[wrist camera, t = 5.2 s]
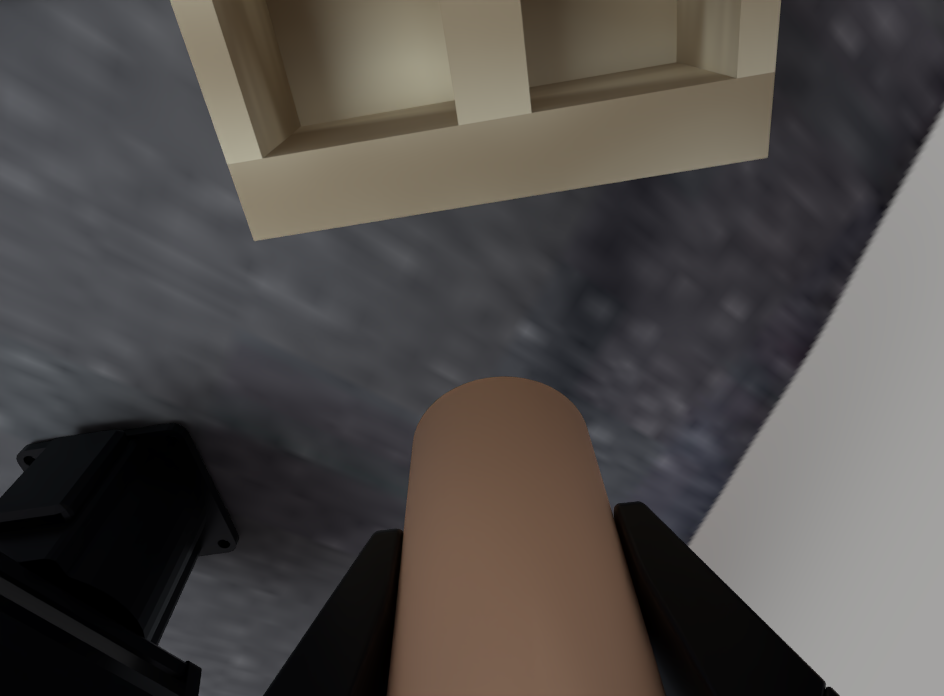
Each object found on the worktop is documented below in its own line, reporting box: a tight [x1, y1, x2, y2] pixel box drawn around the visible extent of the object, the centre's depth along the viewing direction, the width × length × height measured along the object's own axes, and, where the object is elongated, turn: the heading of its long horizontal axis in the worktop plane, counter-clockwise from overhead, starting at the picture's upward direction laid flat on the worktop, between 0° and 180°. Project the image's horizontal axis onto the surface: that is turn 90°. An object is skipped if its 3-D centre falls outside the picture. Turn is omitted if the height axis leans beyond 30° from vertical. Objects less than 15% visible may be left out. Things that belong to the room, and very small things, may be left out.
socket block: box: [170, 0, 781, 241], centre depth 14 cm, size 8×12×5 cm, turn 99°
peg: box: [387, 377, 666, 696], centre depth 8 cm, size 3×3×8 cm
